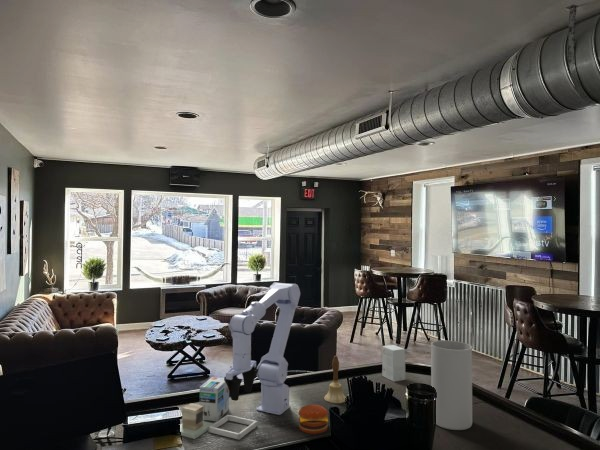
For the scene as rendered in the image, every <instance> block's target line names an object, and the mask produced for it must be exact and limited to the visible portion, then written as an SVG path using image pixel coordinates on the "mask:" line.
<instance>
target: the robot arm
mask: <svg viewBox="0 0 600 450" xmlns="http://www.w3.org/2000/svg"><path fill="white" fill-rule="evenodd" d="M300 297H301V290H300V287H299V285H298V284H296V283H285V282H284V283H283V282H277V281H276V282H275V281H274V282H273V283H272V284H271V285H270V286H269V288H268V291H267V293H266V294H265V295H264V296H263V297H261V299H259V301H252V302H251V303H250V304H249V306H247V308H245V309H243V310H242V311H241V313H240V314H239V313H238V314H234V315H233V316H232V317H231V318H230V321H229V324H228V329H229V331H230V333H231V334H230V335H231V338H232V364H231V365H229V368H230V369H229V370H228V371H226V372H225V376H224V377H223V378H224V381H225V382H226V384H227V386H228V388H229V397H230V399H231V401H234V402H235V401H236V402H237V401H238V400H239V398H240V388H241V385H242V382H243V389H244V390H243V391H244V392H245V393H251V392H252V391H253V386H254V382H255V379H256V377H257V379H258V380H259V383H261V385H260V389H261V392H260V395H261V396H260V397H261V398H260V401H261V402H260V405H259V406H257V408H256V409H255V410H256V411H259V412H265V413H268V414H273V415H278V416H280V415H282V414H283V413H285V411H287V410H289V408H290V407H291V405H290V387H289V385H287V384H285V381H286V380H287V377H288V366H289V363H288V361H287V359H286V358H285V357H284V354H285V350H286V347H287V342H288V339H289V336H290V331H291V328H292V323H293V321H294V316H295V312H296V309H297V308H298V304H299V300H300ZM273 304H275V305H276V306H277V308H279V315H278V318H277V322H276V325H275V328H274V332H273V335H272V336H273V337H272V339H271V343H270V347H269V351H268V352H267V353H266V354H265V355H263V356H261V358H260V362H259V363H258V365H257V361H256V360H252V354H251V353H252V333H253V332H254V331H255V328H256V326H257V323H258V322H259V321H260V320H261V319H262V318H263V317H264V316H265V315H266V312H267V309H268V308H270V307H271V306H272V305H273ZM239 375H242V378H239V377H238V376H239Z"/></svg>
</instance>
